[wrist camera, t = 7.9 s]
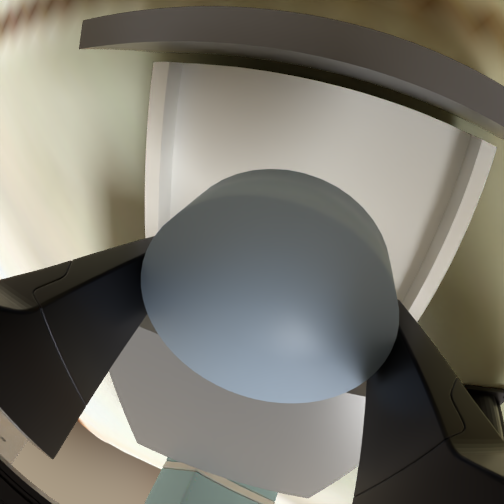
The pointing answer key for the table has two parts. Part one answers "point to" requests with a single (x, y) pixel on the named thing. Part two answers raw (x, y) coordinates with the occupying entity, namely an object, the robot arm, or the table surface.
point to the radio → (202, 488)
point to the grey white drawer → (314, 123)
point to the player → (235, 423)
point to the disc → (273, 288)
